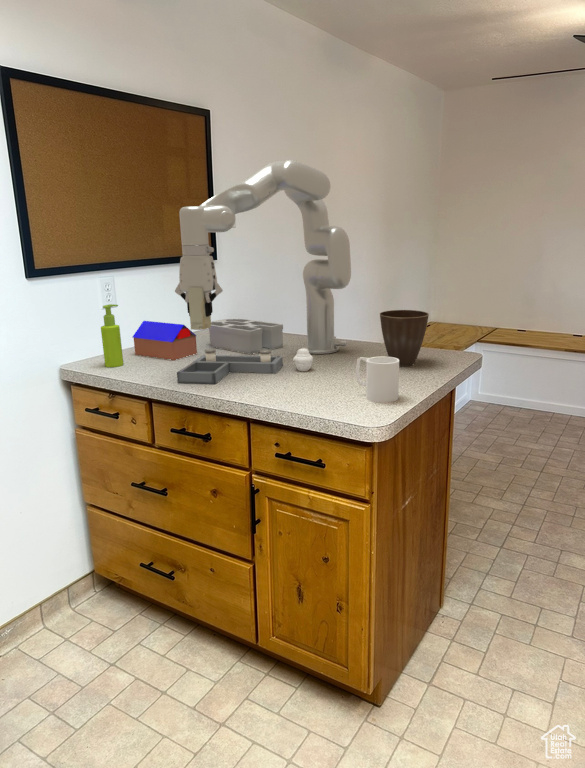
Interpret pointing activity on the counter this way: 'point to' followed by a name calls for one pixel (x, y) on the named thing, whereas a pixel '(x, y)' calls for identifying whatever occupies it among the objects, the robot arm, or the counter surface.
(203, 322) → the skincare box
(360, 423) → the counter surface
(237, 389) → the counter surface
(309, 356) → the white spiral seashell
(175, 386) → the counter surface
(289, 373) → the counter surface
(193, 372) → the tray
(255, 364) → the grey rectangular frame
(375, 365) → the cup
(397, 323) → the plant pot
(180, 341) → the house
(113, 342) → the soap dispenser
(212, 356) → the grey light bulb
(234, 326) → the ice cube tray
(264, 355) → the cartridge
